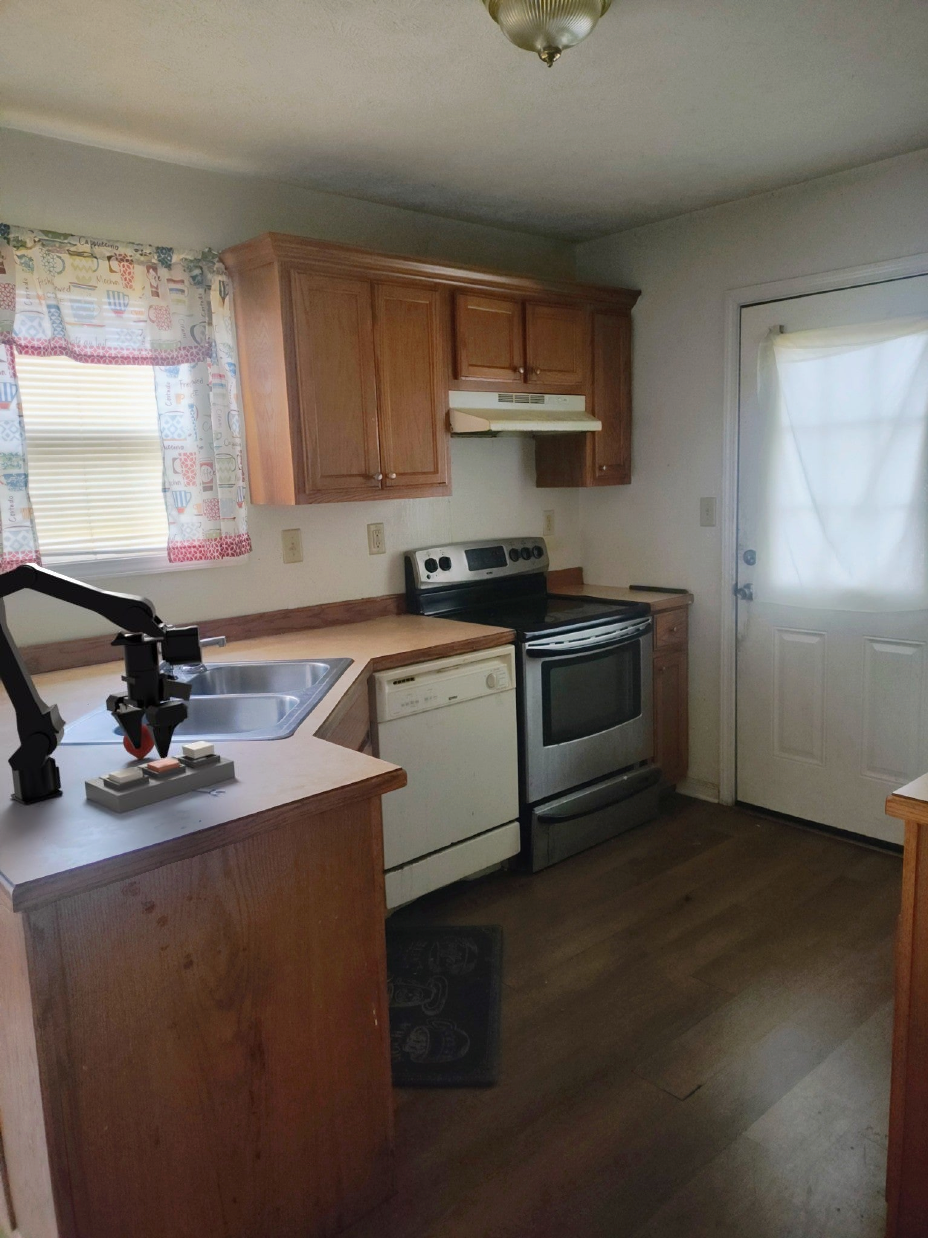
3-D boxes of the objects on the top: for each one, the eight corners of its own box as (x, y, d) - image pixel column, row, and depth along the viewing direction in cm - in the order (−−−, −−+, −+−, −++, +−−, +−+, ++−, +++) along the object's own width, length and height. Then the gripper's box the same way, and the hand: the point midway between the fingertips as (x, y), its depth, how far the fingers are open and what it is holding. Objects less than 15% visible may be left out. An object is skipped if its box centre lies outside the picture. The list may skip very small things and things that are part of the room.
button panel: (120, 813, 141) (117, 790, 140) (86, 797, 149) (84, 775, 148) (235, 776, 157) (233, 755, 157) (199, 764, 165) (197, 744, 164)
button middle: (159, 776, 149) (158, 767, 149) (147, 772, 152) (146, 763, 152) (180, 770, 152) (179, 761, 152) (168, 766, 155) (167, 757, 154)
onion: (146, 752, 174) (142, 714, 173) (162, 757, 170) (158, 718, 169) (119, 760, 170) (115, 721, 168) (135, 765, 166) (131, 725, 165)
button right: (194, 758, 154) (194, 750, 154) (182, 754, 157) (182, 746, 156) (214, 753, 157) (213, 744, 157) (202, 749, 160) (201, 740, 159)
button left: (120, 787, 144) (119, 777, 144) (109, 782, 147) (108, 773, 146) (143, 780, 147) (142, 771, 147) (131, 775, 150) (130, 767, 149)
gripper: (211, 665, 152) (218, 751, 154) (157, 655, 164) (164, 734, 167) (153, 677, 144) (161, 767, 146) (100, 665, 156) (109, 748, 158)
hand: (150, 753), depth 154 cm, fingers open, 9 cm apart
